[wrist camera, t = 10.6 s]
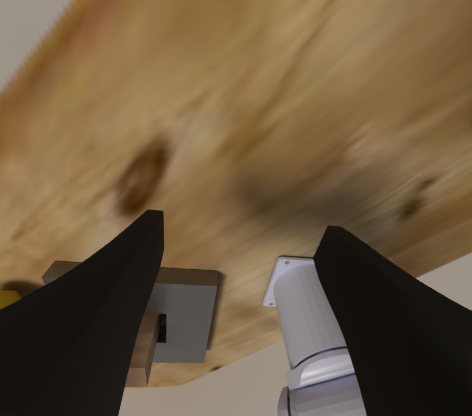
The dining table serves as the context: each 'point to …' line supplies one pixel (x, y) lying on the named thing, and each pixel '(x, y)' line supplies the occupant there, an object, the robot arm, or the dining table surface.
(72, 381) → the robot arm
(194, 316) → the grey plate with hole
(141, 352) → the brown rectangular block
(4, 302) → the lemon
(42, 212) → the dining table surface
